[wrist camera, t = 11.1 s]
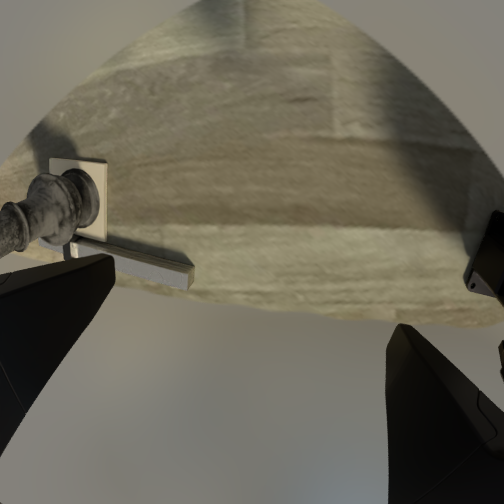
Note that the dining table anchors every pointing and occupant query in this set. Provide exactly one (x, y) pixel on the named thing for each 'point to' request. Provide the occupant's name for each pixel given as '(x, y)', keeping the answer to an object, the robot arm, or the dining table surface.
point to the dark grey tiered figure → (49, 211)
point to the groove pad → (100, 178)
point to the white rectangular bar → (130, 261)
